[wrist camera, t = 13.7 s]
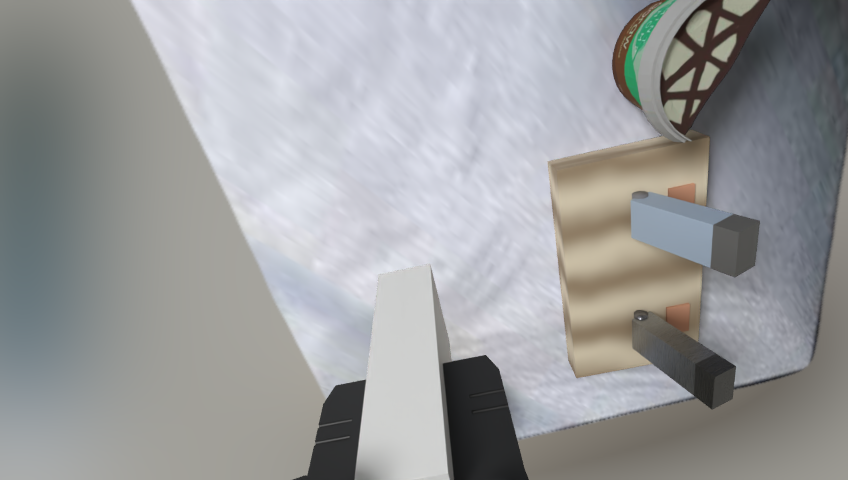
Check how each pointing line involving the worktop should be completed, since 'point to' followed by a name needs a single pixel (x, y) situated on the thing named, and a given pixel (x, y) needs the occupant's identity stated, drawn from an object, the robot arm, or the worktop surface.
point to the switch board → (622, 247)
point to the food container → (680, 57)
